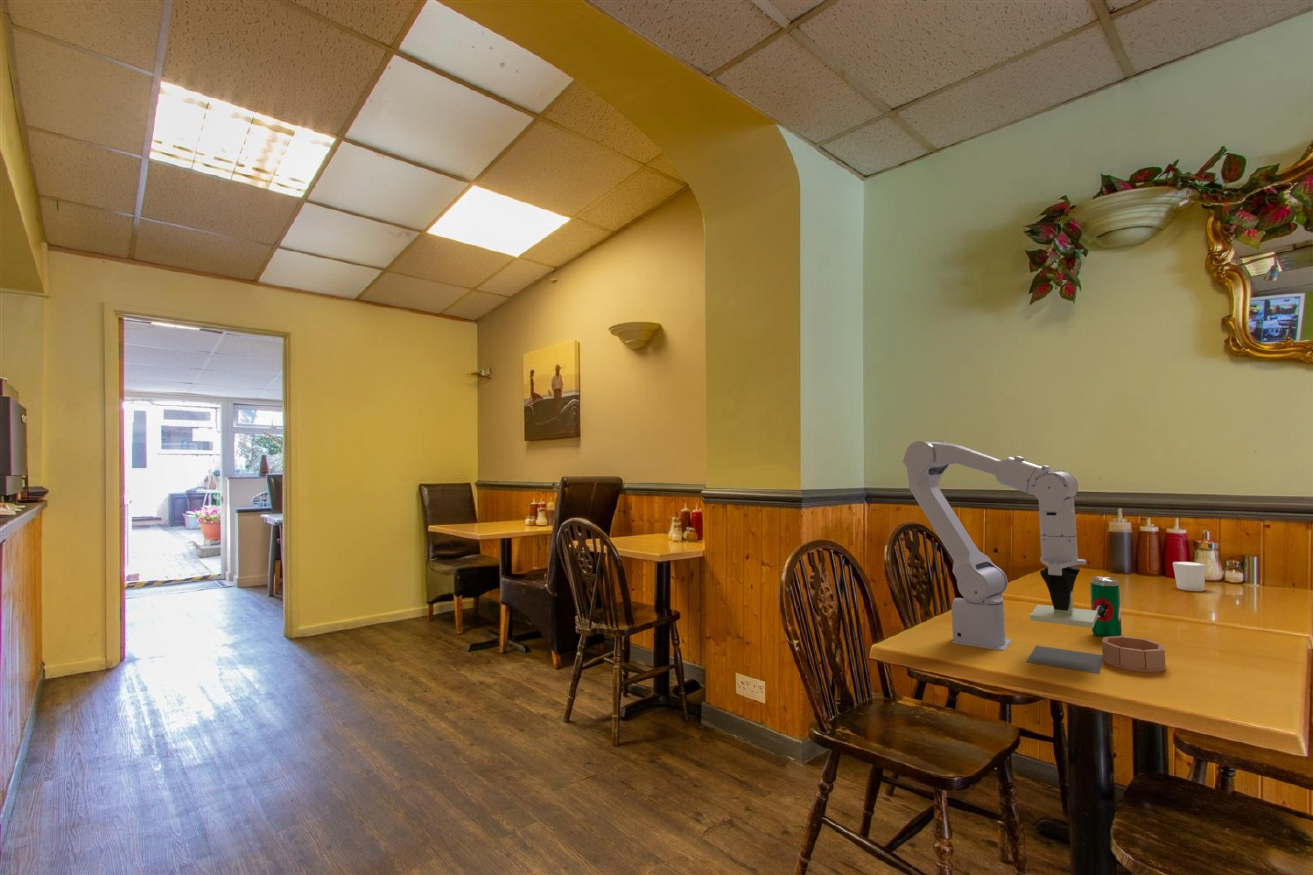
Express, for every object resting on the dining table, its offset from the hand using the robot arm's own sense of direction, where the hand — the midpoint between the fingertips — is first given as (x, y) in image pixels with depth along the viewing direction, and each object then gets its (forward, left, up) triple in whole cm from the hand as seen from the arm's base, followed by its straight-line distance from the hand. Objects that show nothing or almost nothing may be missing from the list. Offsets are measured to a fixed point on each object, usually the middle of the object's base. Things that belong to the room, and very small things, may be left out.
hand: (1062, 607), depth 114 cm
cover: (0, 0, -2) cm, 2 cm away
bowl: (+10, +3, -10) cm, 14 cm away
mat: (0, 0, -10) cm, 10 cm away
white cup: (+20, +85, -10) cm, 88 cm away
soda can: (+5, +22, -10) cm, 25 cm away
